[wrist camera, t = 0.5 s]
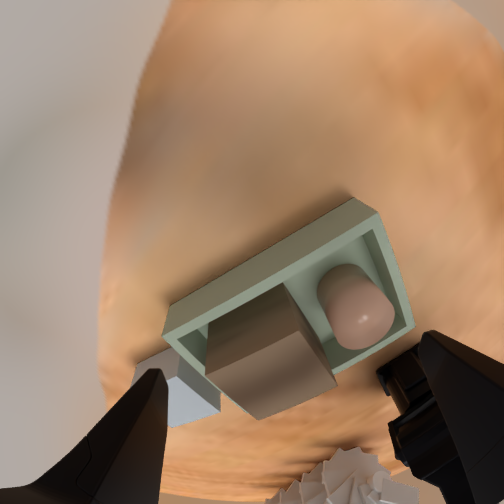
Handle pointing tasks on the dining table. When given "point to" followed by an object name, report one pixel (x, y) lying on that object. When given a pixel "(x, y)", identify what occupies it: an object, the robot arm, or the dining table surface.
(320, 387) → the walnut block
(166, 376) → the gray block
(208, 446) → the dining table surface
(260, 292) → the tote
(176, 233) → the dining table surface
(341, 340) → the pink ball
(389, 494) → the spiral staircase
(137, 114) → the dining table surface
